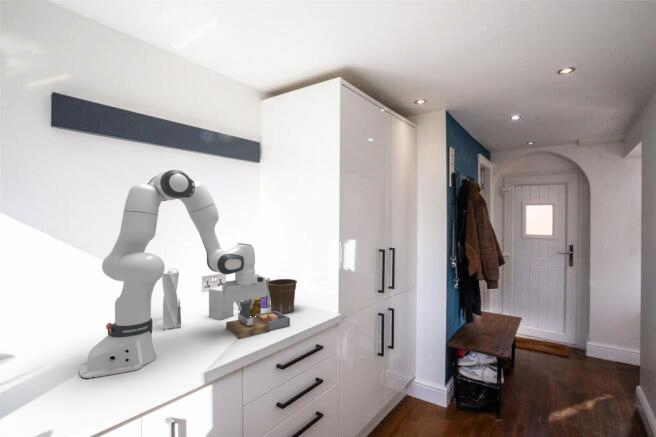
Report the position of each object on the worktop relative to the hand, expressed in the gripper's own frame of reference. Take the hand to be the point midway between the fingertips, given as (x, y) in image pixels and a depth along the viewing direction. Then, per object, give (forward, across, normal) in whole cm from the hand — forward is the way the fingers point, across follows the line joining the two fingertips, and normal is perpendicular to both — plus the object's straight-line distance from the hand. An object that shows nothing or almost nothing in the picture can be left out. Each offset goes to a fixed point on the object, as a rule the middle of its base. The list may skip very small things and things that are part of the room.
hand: (245, 309), depth 145 cm
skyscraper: (+10, -26, +25) cm, 37 cm away
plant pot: (+10, +28, +17) cm, 34 cm away
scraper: (+6, 0, 0) cm, 6 cm away
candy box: (+10, +21, +34) cm, 41 cm away
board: (+10, +1, 0) cm, 10 cm away
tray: (+10, +13, 0) cm, 16 cm away
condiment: (+10, +12, +19) cm, 24 cm away
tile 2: (+6, +10, -3) cm, 12 cm away
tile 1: (+9, +12, +3) cm, 15 cm away
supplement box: (+10, -2, +27) cm, 29 cm away
